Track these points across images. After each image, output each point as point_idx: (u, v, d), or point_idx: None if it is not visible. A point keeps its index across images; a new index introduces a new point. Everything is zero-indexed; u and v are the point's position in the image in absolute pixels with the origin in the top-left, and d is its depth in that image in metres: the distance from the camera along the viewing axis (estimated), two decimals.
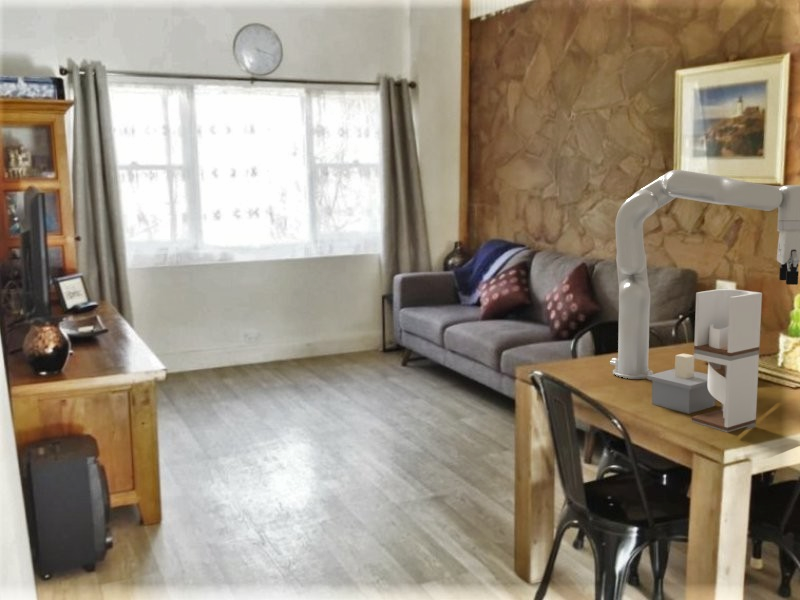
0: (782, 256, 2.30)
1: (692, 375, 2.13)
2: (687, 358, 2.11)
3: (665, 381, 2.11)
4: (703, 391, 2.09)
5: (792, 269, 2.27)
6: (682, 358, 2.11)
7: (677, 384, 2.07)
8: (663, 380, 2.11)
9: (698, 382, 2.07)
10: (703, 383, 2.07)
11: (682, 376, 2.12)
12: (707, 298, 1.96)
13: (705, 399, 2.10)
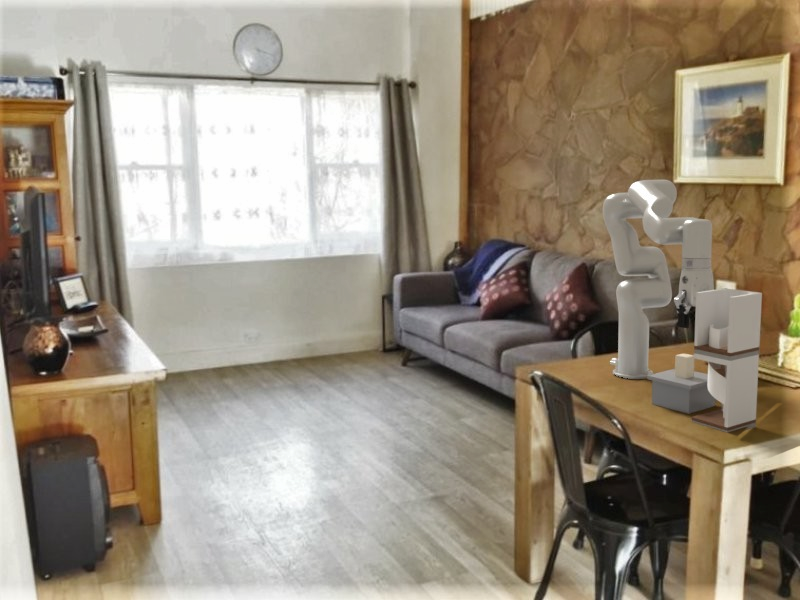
0: None
1: (692, 375, 2.13)
2: (687, 358, 2.11)
3: (665, 381, 2.11)
4: (703, 391, 2.09)
5: None
6: (682, 358, 2.11)
7: (677, 384, 2.07)
8: (663, 380, 2.11)
9: (698, 382, 2.07)
10: (703, 383, 2.07)
11: (682, 376, 2.12)
12: (707, 298, 1.96)
13: (705, 399, 2.10)
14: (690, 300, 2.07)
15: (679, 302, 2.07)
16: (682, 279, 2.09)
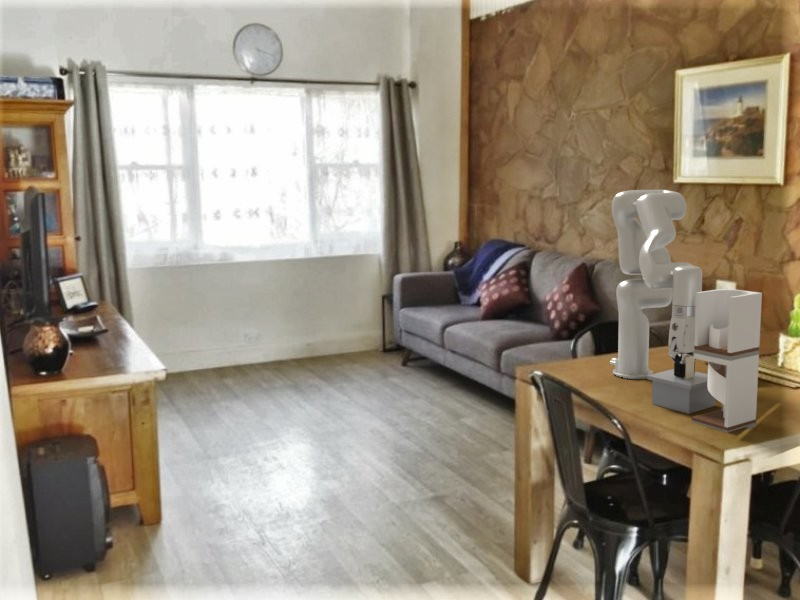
0: None
1: (692, 375, 2.13)
2: (687, 358, 2.11)
3: (665, 381, 2.11)
4: (703, 391, 2.09)
5: None
6: None
7: (677, 384, 2.07)
8: (663, 380, 2.11)
9: (698, 382, 2.07)
10: (703, 383, 2.07)
11: None
12: (707, 298, 1.96)
13: (705, 399, 2.10)
14: (680, 347, 2.08)
15: (674, 355, 2.09)
16: (672, 326, 2.10)
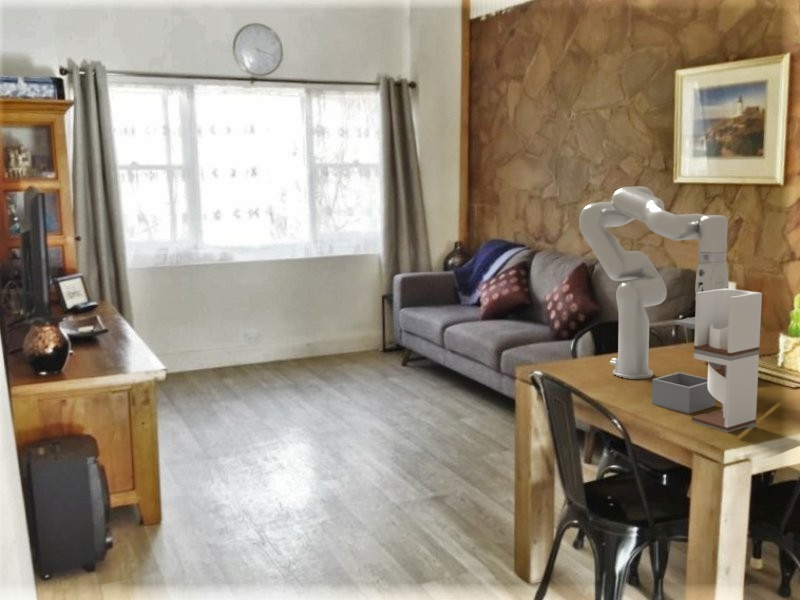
0: (726, 287, 2.23)
1: None
2: None
3: (692, 325, 2.21)
4: (703, 391, 2.09)
5: None
6: None
7: None
8: (690, 324, 2.22)
9: None
10: None
11: None
12: (707, 298, 1.96)
13: (705, 399, 2.10)
14: None
15: None
16: (699, 272, 2.20)
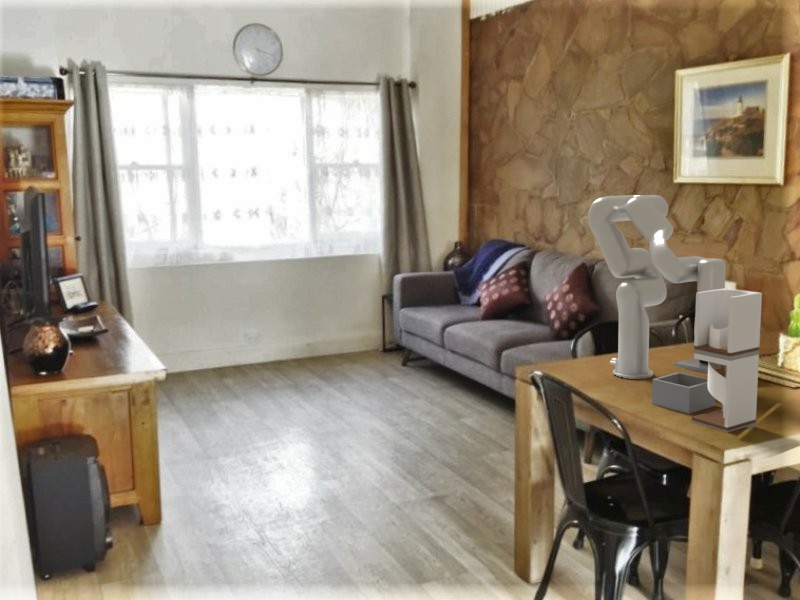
0: None
1: None
2: None
3: (691, 367, 2.23)
4: (703, 391, 2.09)
5: None
6: None
7: (703, 370, 2.20)
8: (689, 366, 2.23)
9: None
10: None
11: None
12: (707, 298, 1.96)
13: (705, 399, 2.10)
14: None
15: None
16: None
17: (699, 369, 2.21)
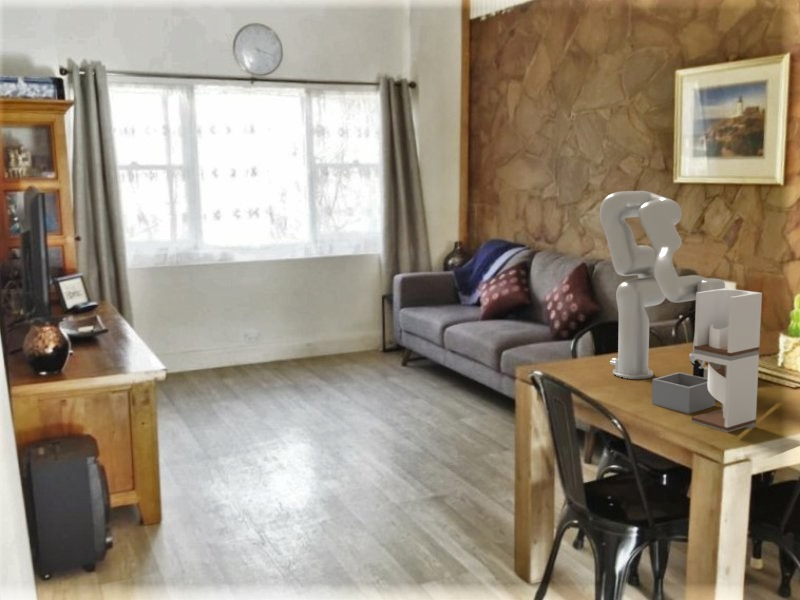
0: None
1: None
2: None
3: None
4: (703, 391, 2.09)
5: None
6: (705, 371, 2.25)
7: None
8: None
9: None
10: None
11: None
12: (707, 298, 1.96)
13: (705, 399, 2.10)
14: None
15: (694, 358, 2.21)
16: None
17: None
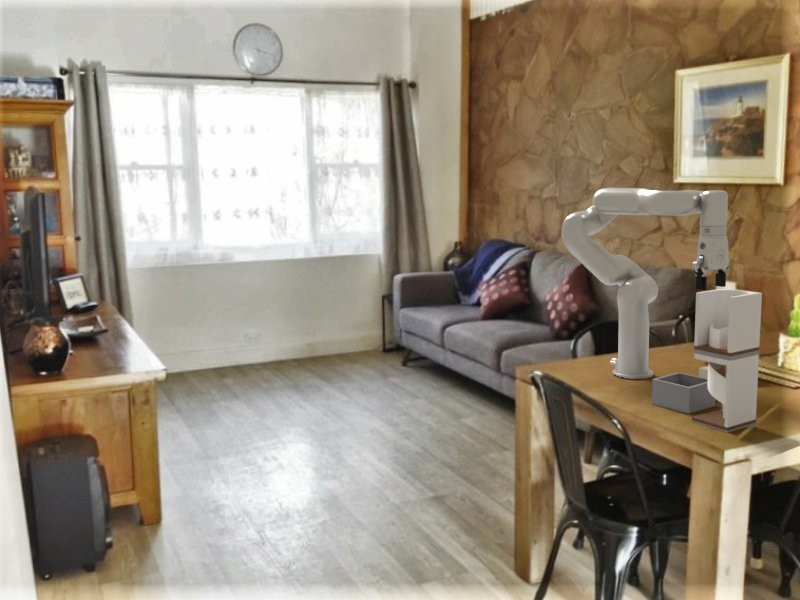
0: (727, 260, 2.31)
1: None
2: None
3: None
4: (703, 391, 2.09)
5: None
6: (705, 371, 2.25)
7: None
8: None
9: None
10: None
11: None
12: (707, 298, 1.96)
13: (705, 399, 2.10)
14: (707, 264, 2.27)
15: (697, 266, 2.27)
16: (700, 245, 2.29)
17: None
